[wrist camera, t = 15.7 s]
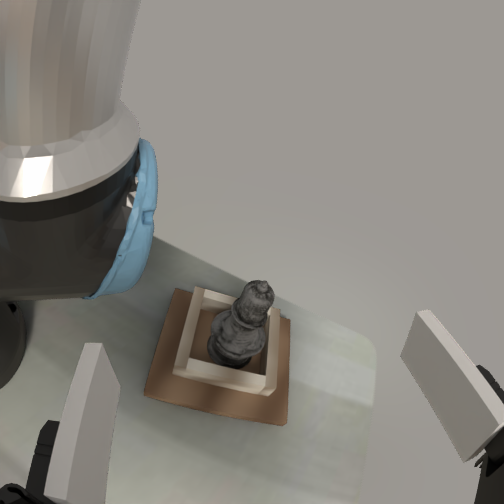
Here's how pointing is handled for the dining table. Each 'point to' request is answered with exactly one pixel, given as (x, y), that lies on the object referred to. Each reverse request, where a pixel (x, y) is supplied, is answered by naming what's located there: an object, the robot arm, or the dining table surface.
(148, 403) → the dining table surface
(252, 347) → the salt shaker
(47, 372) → the dining table surface
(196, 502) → the dining table surface
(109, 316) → the dining table surface
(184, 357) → the caddy
